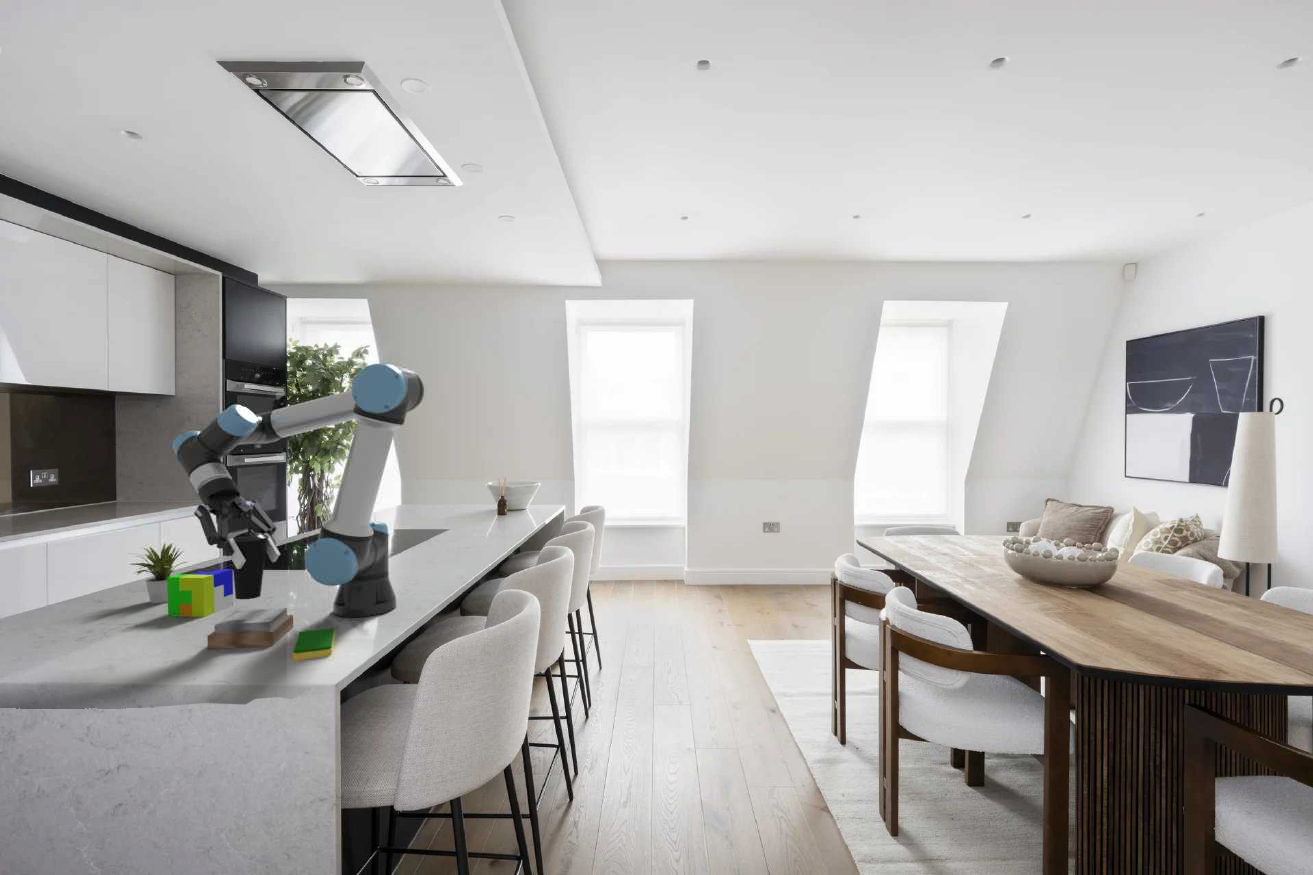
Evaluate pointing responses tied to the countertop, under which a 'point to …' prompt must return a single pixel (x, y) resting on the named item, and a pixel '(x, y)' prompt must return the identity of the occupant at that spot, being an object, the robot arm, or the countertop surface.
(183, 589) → the puzzle toy
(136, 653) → the countertop surface
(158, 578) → the house plant
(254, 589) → the drinking cup
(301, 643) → the dish sponge
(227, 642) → the two-layer plinth
